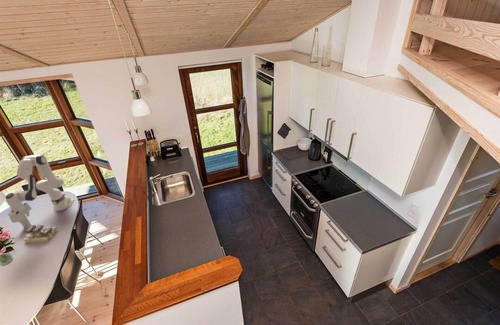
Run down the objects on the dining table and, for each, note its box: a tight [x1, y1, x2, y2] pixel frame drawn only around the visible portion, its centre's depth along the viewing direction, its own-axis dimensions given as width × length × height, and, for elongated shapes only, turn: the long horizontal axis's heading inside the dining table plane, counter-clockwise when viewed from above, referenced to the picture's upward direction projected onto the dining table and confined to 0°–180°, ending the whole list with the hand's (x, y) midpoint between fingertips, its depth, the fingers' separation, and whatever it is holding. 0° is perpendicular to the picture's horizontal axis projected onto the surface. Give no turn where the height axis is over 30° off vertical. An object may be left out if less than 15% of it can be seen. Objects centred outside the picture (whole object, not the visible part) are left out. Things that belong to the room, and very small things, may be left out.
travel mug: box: [20, 214, 32, 230], centre depth 258 cm, size 6×7×20 cm
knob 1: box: [24, 224, 37, 234], centre depth 247 cm, size 8×5×7 cm, turn 3°
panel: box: [23, 226, 58, 243], centre depth 250 cm, size 16×22×4 cm
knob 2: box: [33, 224, 44, 234], centre depth 248 cm, size 8×5×7 cm, turn 3°
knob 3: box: [41, 228, 52, 236], centre depth 250 cm, size 8×5×7 cm, turn 3°
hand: (25, 219), depth 240 cm, fingers open, 8 cm apart
